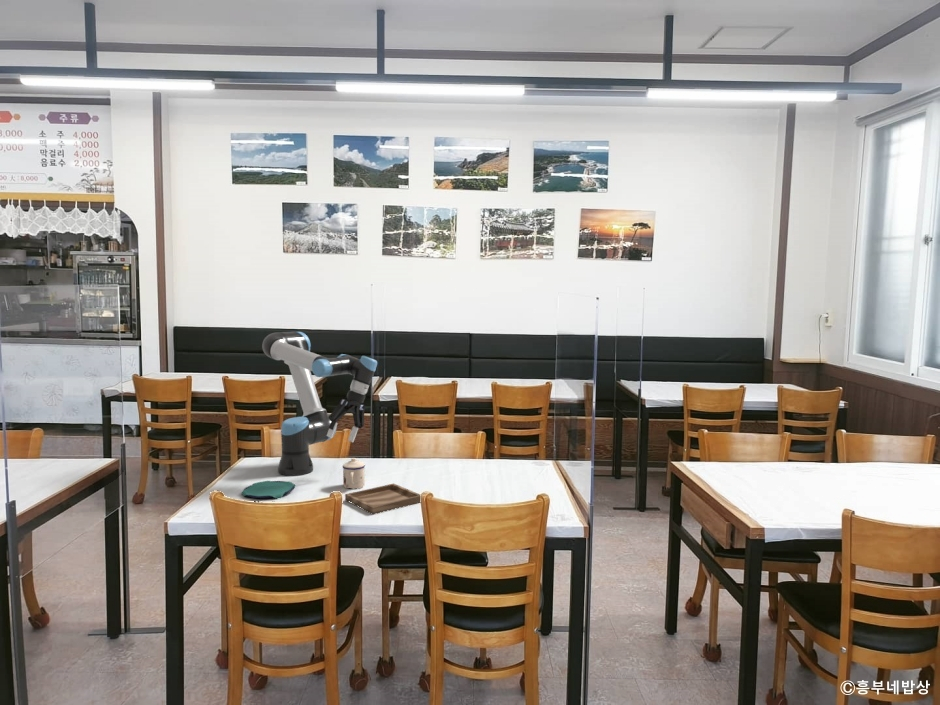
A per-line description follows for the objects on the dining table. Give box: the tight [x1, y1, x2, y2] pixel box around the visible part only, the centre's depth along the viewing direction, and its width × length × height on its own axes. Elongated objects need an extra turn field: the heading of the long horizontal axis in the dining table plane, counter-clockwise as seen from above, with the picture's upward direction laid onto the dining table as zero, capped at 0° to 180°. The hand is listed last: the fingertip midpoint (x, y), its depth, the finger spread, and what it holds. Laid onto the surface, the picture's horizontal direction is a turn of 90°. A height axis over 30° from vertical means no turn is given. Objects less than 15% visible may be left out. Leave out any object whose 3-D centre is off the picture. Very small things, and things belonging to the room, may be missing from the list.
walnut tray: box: [344, 483, 421, 515], centre depth 244 cm, size 20×22×2 cm
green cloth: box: [241, 480, 296, 503], centre depth 250 cm, size 20×30×2 cm, turn 172°
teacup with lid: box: [342, 457, 366, 489], centre depth 262 cm, size 12×9×12 cm
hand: (340, 439), depth 272 cm, fingers open, 13 cm apart
